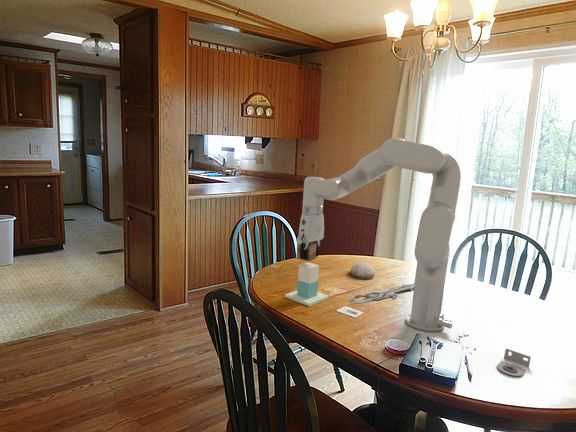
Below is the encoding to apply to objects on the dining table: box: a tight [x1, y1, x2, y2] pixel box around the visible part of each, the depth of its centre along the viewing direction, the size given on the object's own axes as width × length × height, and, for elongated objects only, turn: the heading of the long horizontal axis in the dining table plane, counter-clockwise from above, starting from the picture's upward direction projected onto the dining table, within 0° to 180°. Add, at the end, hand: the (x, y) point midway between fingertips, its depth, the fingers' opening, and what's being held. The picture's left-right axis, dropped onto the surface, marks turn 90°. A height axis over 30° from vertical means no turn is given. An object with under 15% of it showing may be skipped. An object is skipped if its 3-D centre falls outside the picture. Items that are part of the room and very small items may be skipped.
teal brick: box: [296, 279, 319, 299], centre depth 162 cm, size 6×6×6 cm
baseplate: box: [284, 289, 330, 307], centre depth 163 cm, size 12×12×1 cm
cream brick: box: [297, 261, 320, 284], centre depth 161 cm, size 6×6×6 cm
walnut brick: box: [295, 242, 317, 262], centre depth 160 cm, size 6×6×6 cm
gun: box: [347, 283, 414, 305], centre depth 171 cm, size 39×2×10 cm
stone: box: [350, 260, 376, 280], centre depth 194 cm, size 13×10×8 cm
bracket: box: [496, 348, 532, 377], centre depth 118 cm, size 7×10×4 cm, turn 138°
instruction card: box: [335, 305, 365, 319], centre depth 151 cm, size 8×6×1 cm
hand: (309, 256), depth 160 cm, fingers closed on walnut brick, 5 cm apart
